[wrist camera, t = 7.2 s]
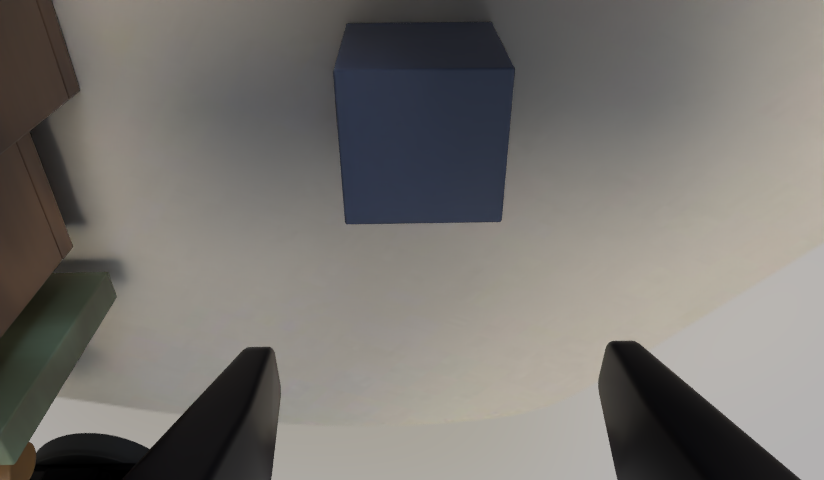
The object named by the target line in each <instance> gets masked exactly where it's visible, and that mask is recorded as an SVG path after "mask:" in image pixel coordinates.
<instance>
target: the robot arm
mask: <svg viewBox="0 0 824 480" xmlns="http://www.w3.org/2000/svg"><path fill="white" fill-rule="evenodd" d="M598 388H599V395H600V399H601V405H602V409H603V414H604V419H605V423H606V428H607V433H608V437H609V442H610V447H611V452H612V457H613V461H614V466H615V471H616V475H617V479H618V480H800V479H799V478H798V477H797V476H796V475H795V474H793V473H792V472H791V471H790V470H789V469H787V468H786V467H785V466H784V465H783V464H782V463H780V462H779V461H778V460H777V459H776V458H774V457H773V456H772V455H771V454H770V453H769V452H767V451H766V450H765V449H764V448H763V447H761V446H760V445H759V444H758V443H756V442H755V441H754V440H753V439H752V438H751V437H749V436H748V435H747V434H746V433H744V431H742V430H741V429H740V428H739V427H738V426H736V425H735V424H734V423H733V422H732V421H731V420H729V419H728V418H727V417H726V416H725V415H723V414H722V413H721V412H720V411H719V410H717V409H716V408H715V407H714V406H712V404H710V403H709V402H708V401H707V400H706V399H704V398H703V397H702V396H701V395H700V394H698V393H697V392H696V391H695V390H694V389H693V388H691V387H690V386H689V385H688V384H686V383H685V382H684V381H683V380H682V379H681V378H679V377H678V376H677V375H676V374H675V373H674V372H672V371H671V370H670V369H669V368H668V367H666V366H665V365H664V364H663V363H662V362H660V361H659V360H658V359H657V358H656V357H654V356H653V355H652V354H651V353H650V352H649V351H647V350H646V349H645V348H644V347H643V346H641V345H640V344H639V343H637V342H635V341H611V342H609V343H608V345H607V346H606V349H605V353H604V358H603V362H602V366H601V370H600V375H599V381H598ZM280 398H281V386H280V379H279V374H278V368H277V363H276V357H275V352H274V350H273V349H272V348H271V347H248V348H246V349H244V350H243V351H242V352H241V353H240V354H239V355H238V356H237V357H236V358H235V359H234V360H233V361H232V362H231V363H230V365H229V366H228V367H227V368H226V369H225V370H224V371H223V372H222V373H221V374H220V375H219V376H218V377H217V378H216V379H215V381H214V382H213V383H212V384H211V385H210V386H209V387H208V388H207V389H206V390H205V391H204V392H203V393H202V394H201V395H200V397H199V398H198V399H197V400H196V401H195V402H194V403H193V404H192V405H191V406H190V407H189V408H188V409H187V410H186V411H185V413H184V414H183V415H182V416H181V417H180V418H179V419H178V420H177V421H176V422H175V423H174V424H173V425H172V427H170V429H169V430H168V431H167V432H166V433H165V434H164V435H163V436H162V437H161V438H160V439H159V440H158V441H157V442H156V444H155V445H154V446H153V447H152V448H151V449H150V450H149V451H148V452H147V453H146V454H145V455H144V456H143V457H142V458H141V459H140V461H139V462H138V463H137V464H135V463H102V464H51V465H35V467H34V471H33V473H32V475H31V477H30V479H29V480H271V476H272V468H273V459H274V450H275V442H276V433H277V425H278V416H279V407H280Z"/></svg>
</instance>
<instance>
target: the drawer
mask: <svg viewBox="0 0 824 480" xmlns="http://www.w3.org/2000/svg"><path fill="white" fill-rule="evenodd" d="M72 248H73V244H72V242H71V239H70V237H69V234H68V231H67V229H66V226H65V224H64V221H63V218H62V216H61V213H60V210H59V208H58V205H57V203H56V200H55V197H54V195H53V192H52V190H51V187H50V184H49V182H48V179H47V176H46V174H45V171H44V169H43V166H42V163H41V161H40V158H39V156H38V153H37V150H36V148H35V145H34V142H33V140H32V137H31V135H30V132H28V133H27V134H26V135H24V136H23V137H22V138H21V139H19V140H18V141H17V142H16V143H14V144H13V145H12V146H11V147H9V148H8V149H7V150H6V151H4V152H3V153H2V154H1V155H0V480H29V479H30V477H31V475H32V473H33V471H34V467H35V463H36V451H35V448H34V446H33V444H32V443H30V442H29V440H30V438H31V437H32V435H33V433H34V432H35V430H36V429H37V427H38V425H39V424H40V422H41V420H42V419H43V417H44V416H45V414H46V412H47V411H48V409H49V407H50V405H51V404H52V402H53V401H54V399H55V398H56V396H57V394H58V393H59V391H60V389H61V388H62V386H63V384H64V383H65V381H66V379H67V378H68V376H69V375H70V373H71V371H72V370H73V368H74V366H75V365H76V363H77V361H78V360H79V358H80V357H81V355H82V353H83V352H84V350H85V348H86V347H87V345H88V343H89V342H90V340H91V338H92V337H93V335H94V334H95V332H96V330H97V329H98V327H99V325H100V324H101V322H102V320H103V319H104V317H105V316H106V314H107V312H108V311H109V309H110V307H111V306H112V304H113V302H114V301H115V299H116V297H117V296H116V293H115V290H114V288H113V285H112V282H111V279H110V276H109V274H108V272H75V273H52V272H53V271H54V270H55V269H56V267H57V266H58V265H59V264H60V262H61V261H62V259H64V258H65V256H66V255H67V254H68V253H69V251H70V250H71V249H72Z"/></svg>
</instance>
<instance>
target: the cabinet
mask: <svg viewBox="0 0 824 480" xmlns="http://www.w3.org/2000/svg"><path fill="white" fill-rule="evenodd" d="M79 91H80V88H79V85H78V82H77V79H76V76H75V73H74V70H73V67H72V63H71V60H70V57H69V54H68V51H67V48H66V45H65V42H64V38H63V35H62V32H61V29H60V26H59V23H58V20H57V17H56V13H55V10H54V7H53V4H52V1H51V0H0V155H1V154H2V153H3V152H4V151H6V150H7V149H8V148H9V147H11V146H12V145H13V144H14V143H16V142H17V141H18V140H19V139H21V138H22V137H23V136H24V135H26V134H27V133H28V132H29V131H31V130H32V129H33V128H34V127H36V126H37V125H38V124H39V123H41V122H42V121H43V120H44V119H46V118H47V117H48V116H49V115H50V114H52V113H53V112H54V111H55V110H57V109H58V108H59V107H60V106H62V105H63V104H64V103H65V102H67V101H68V99H70V98H72V97H73V96H74V95H75V94H77V93H78V92H79Z"/></svg>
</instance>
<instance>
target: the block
mask: <svg viewBox="0 0 824 480" xmlns="http://www.w3.org/2000/svg"><path fill="white" fill-rule="evenodd" d="M514 76H515V68H514V66H513V64H512V62H511V60H510V58H509V56H508V54H507V52H506V50H505V48H504V46H503V44H502V42H501V40H500V38H499V36H498V34H497V32H496V30H495V28H494V26H493V24H492V22H422V23H348V24H346V27H345V31H344V34H343V38H342V41H341V45H340V49H339V52H338V56H337V59H336V63H335V67H334V70H333V78H334V90H335V103H336V115H337V128H338V141H339V153H340V166H341V178H342V191H343V203H344V216H345V223H346V224H398V223H464V222H501V220H502V211H503V200H504V189H505V178H506V166H507V155H508V144H509V132H510V121H511V110H512V98H513V87H514Z"/></svg>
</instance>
